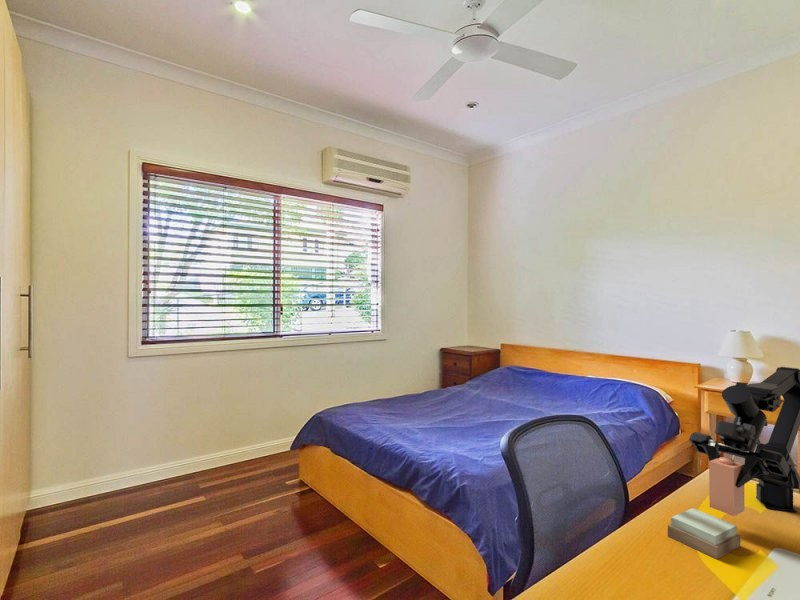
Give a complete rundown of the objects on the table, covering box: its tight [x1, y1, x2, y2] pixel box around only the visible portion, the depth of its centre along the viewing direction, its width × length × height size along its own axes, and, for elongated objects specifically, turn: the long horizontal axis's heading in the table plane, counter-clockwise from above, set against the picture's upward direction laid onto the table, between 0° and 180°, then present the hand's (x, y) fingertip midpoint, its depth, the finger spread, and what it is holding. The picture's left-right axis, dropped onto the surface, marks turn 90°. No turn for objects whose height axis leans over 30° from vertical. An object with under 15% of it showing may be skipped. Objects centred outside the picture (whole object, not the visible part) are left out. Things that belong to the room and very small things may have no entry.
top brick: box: [708, 456, 745, 517], centre depth 100 cm, size 5×5×12 cm
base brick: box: [667, 507, 742, 560], centre depth 95 cm, size 10×10×4 cm
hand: (723, 482), depth 100 cm, fingers closed on top brick, 5 cm apart
